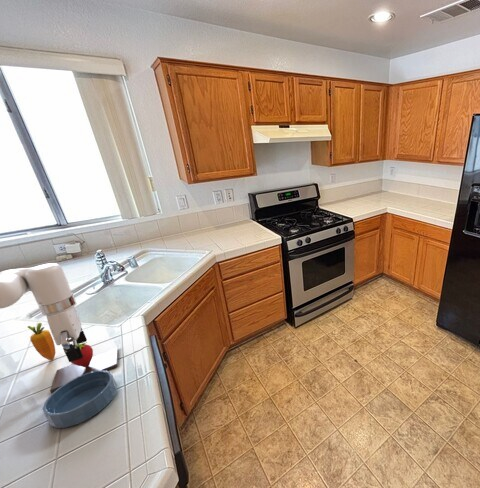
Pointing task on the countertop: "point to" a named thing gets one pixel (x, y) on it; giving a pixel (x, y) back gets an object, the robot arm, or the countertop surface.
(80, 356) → the robot arm
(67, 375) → the board
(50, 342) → the carrot
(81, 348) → the strawberry
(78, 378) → the basin
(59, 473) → the countertop surface
